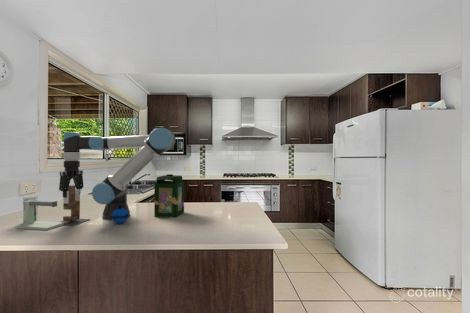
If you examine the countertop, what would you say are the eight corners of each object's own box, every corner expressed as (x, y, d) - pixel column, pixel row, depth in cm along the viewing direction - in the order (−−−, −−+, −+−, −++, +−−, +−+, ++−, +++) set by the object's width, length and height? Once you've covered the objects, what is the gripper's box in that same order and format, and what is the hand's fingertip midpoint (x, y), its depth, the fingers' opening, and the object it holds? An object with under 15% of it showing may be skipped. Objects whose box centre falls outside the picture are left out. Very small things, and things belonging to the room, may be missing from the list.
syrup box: (22, 224, 140) (22, 197, 140) (25, 221, 145) (25, 195, 145) (36, 223, 143) (35, 196, 143) (38, 220, 148) (38, 194, 148)
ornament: (121, 226, 137) (121, 207, 137) (107, 224, 140) (107, 205, 140) (132, 222, 146) (132, 204, 146) (119, 220, 148) (119, 203, 148)
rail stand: (63, 225, 139) (63, 199, 139) (47, 230, 129) (46, 203, 129) (35, 223, 142) (35, 198, 142) (16, 228, 132) (16, 202, 132)
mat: (90, 220, 150) (90, 219, 150) (73, 225, 138) (73, 224, 138) (71, 218, 152) (71, 218, 152) (54, 224, 140) (54, 223, 140)
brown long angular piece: (79, 218, 147) (80, 184, 147) (69, 221, 140) (70, 186, 140) (73, 218, 148) (74, 184, 148) (63, 221, 141) (63, 185, 141)
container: (151, 217, 156) (151, 175, 156) (163, 211, 174) (163, 173, 174) (175, 218, 154) (175, 175, 154) (184, 211, 172) (185, 173, 172)
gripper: (79, 159, 154) (79, 198, 155) (50, 160, 135) (50, 205, 135) (90, 160, 153) (91, 199, 153) (62, 160, 133) (62, 205, 134)
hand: (71, 202), depth 144 cm, fingers closed on brown long angular piece, 7 cm apart
